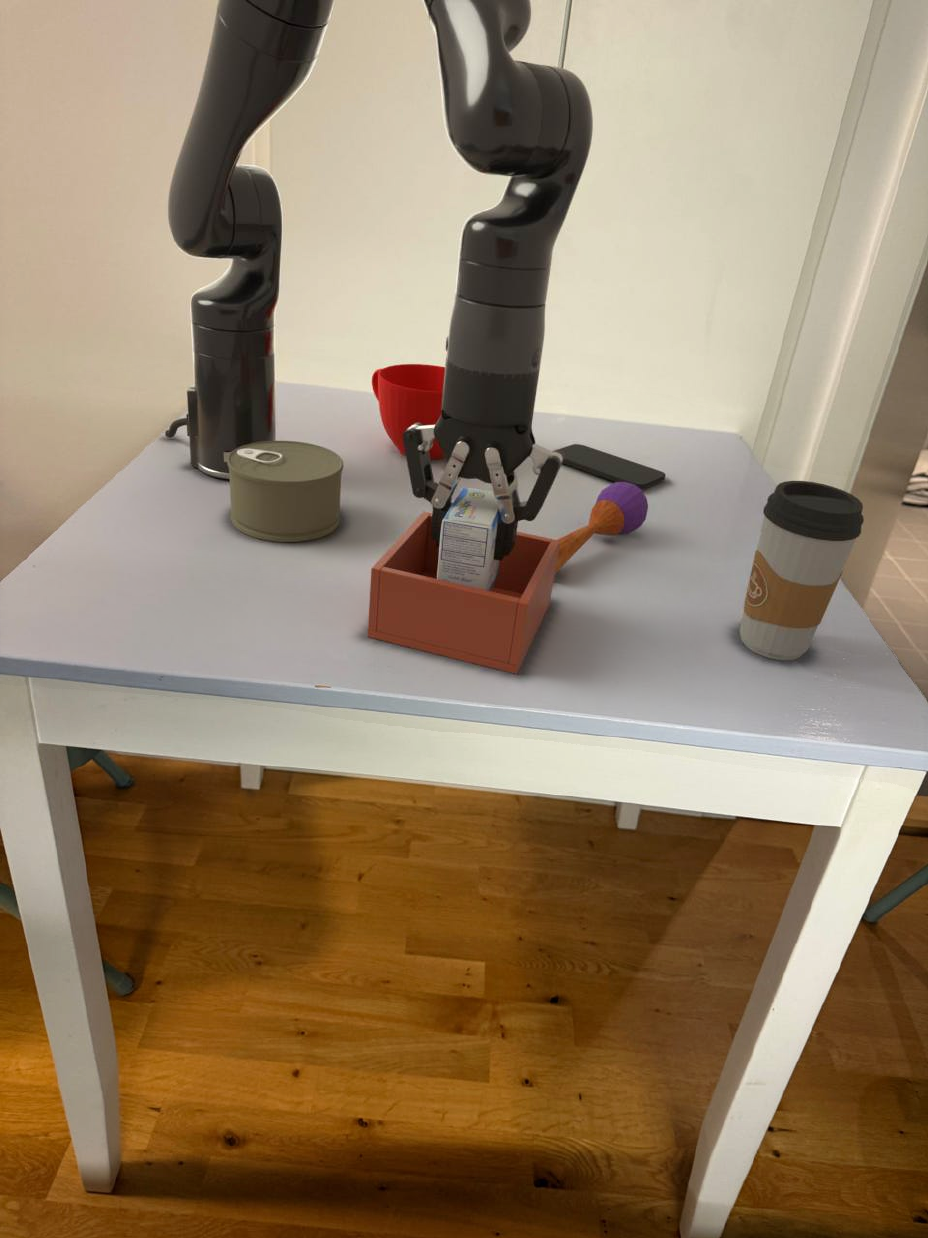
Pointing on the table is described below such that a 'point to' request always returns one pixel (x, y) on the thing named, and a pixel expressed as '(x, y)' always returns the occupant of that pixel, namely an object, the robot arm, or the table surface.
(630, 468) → the phone
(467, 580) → the medicine box
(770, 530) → the coffee cup
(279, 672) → the table surface
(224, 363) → the robot arm
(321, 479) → the can
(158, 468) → the table surface
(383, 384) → the ceramic cup
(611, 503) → the purple and orange maraca
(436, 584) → the bin
